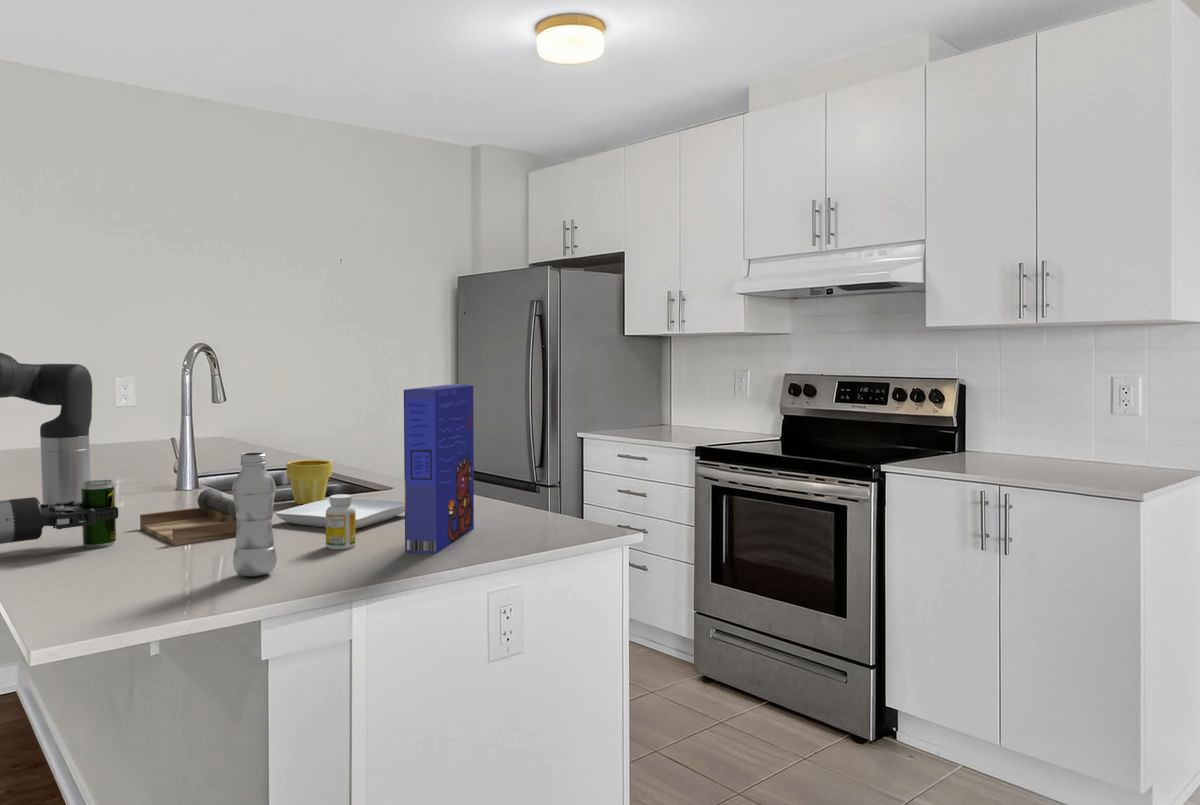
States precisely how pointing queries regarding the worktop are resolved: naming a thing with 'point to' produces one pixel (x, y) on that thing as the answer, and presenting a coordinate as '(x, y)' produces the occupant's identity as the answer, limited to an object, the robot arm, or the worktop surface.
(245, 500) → the plastic bottle
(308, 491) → the plant pot
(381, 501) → the salad plate
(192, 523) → the bay
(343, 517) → the supplement bottle
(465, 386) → the cereal box
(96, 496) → the beer can
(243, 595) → the worktop surface
